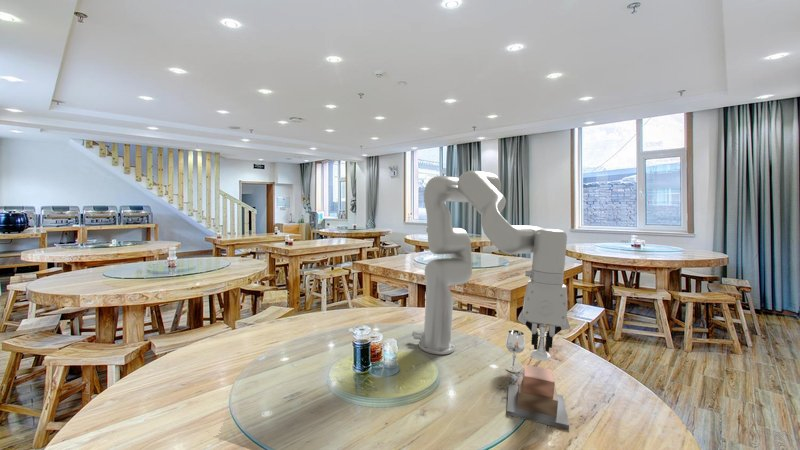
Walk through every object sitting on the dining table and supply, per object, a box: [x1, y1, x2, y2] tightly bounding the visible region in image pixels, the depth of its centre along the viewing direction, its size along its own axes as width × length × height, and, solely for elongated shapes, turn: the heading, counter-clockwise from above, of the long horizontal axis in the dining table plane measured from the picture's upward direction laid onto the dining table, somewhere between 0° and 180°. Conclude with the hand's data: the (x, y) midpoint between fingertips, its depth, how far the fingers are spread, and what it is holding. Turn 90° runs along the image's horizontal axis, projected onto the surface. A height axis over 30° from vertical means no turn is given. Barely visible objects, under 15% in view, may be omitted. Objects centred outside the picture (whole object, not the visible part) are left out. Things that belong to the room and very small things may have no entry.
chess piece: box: [529, 324, 552, 362], centre depth 91 cm, size 5×5×10 cm
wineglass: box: [505, 329, 526, 370], centre depth 112 cm, size 6×6×12 cm
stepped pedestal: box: [506, 364, 570, 430], centre depth 92 cm, size 14×14×9 cm
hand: (541, 348), depth 91 cm, fingers closed on chess piece
